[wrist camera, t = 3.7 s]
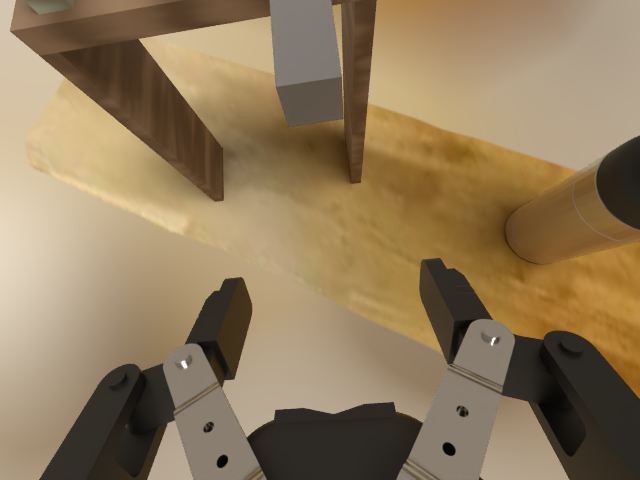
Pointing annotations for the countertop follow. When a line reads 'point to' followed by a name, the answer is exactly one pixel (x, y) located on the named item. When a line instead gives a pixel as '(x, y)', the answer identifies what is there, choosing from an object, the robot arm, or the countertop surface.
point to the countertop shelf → (152, 83)
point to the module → (306, 61)
